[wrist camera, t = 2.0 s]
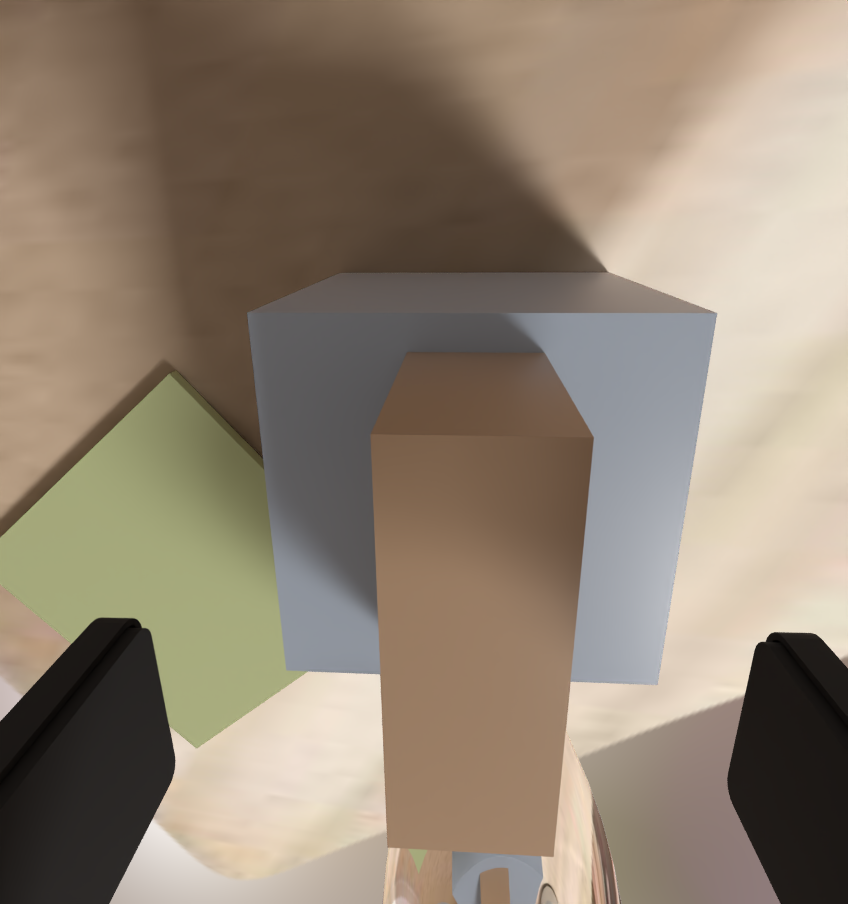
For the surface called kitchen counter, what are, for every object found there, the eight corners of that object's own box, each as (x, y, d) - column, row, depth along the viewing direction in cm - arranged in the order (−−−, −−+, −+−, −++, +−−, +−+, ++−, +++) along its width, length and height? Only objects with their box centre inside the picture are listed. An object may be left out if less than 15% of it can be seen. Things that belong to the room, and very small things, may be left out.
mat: (175, 370, 25) (169, 373, 24) (401, 600, 28) (399, 607, 28) (-17, 556, 29) (-26, 562, 28) (201, 739, 32) (196, 748, 32)
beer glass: (491, 556, 27) (517, 917, 13) (593, 651, 29) (715, 1068, 15) (383, 643, 29) (307, 1034, 15) (484, 727, 31) (498, 1157, 17)
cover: (608, 272, 23) (885, 376, 8) (585, 509, 26) (746, 900, 11) (340, 272, 23) (110, 371, 8) (352, 504, 27) (207, 868, 12)
